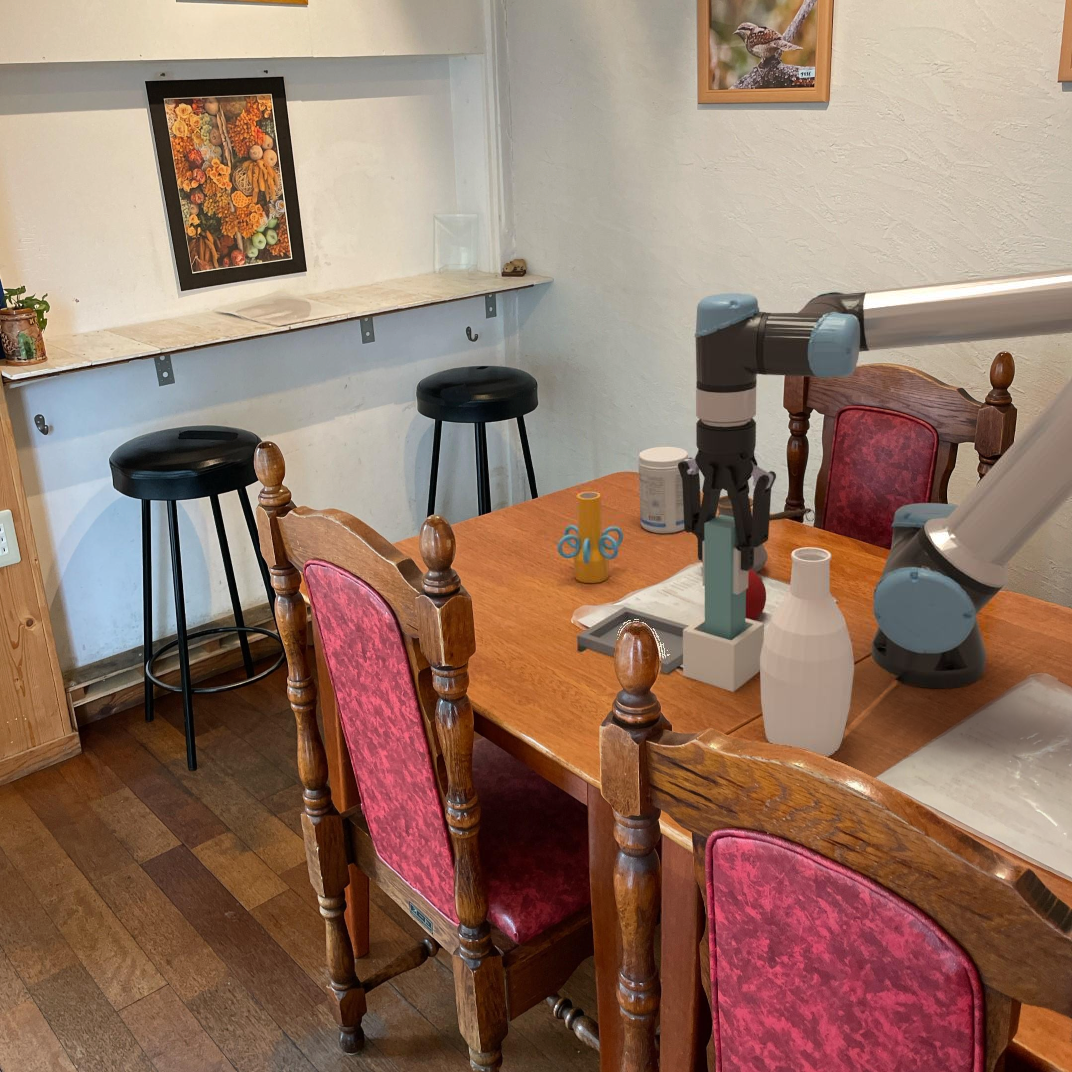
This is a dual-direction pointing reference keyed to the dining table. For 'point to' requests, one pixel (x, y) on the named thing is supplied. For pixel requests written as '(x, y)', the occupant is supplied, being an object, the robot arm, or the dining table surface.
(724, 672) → the white open box
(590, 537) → the yellow ringed vase
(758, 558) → the coffee pot
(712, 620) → the peg
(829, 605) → the bottle
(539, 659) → the dining table surface
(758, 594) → the apple
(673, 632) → the tray
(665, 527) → the supplement tub
